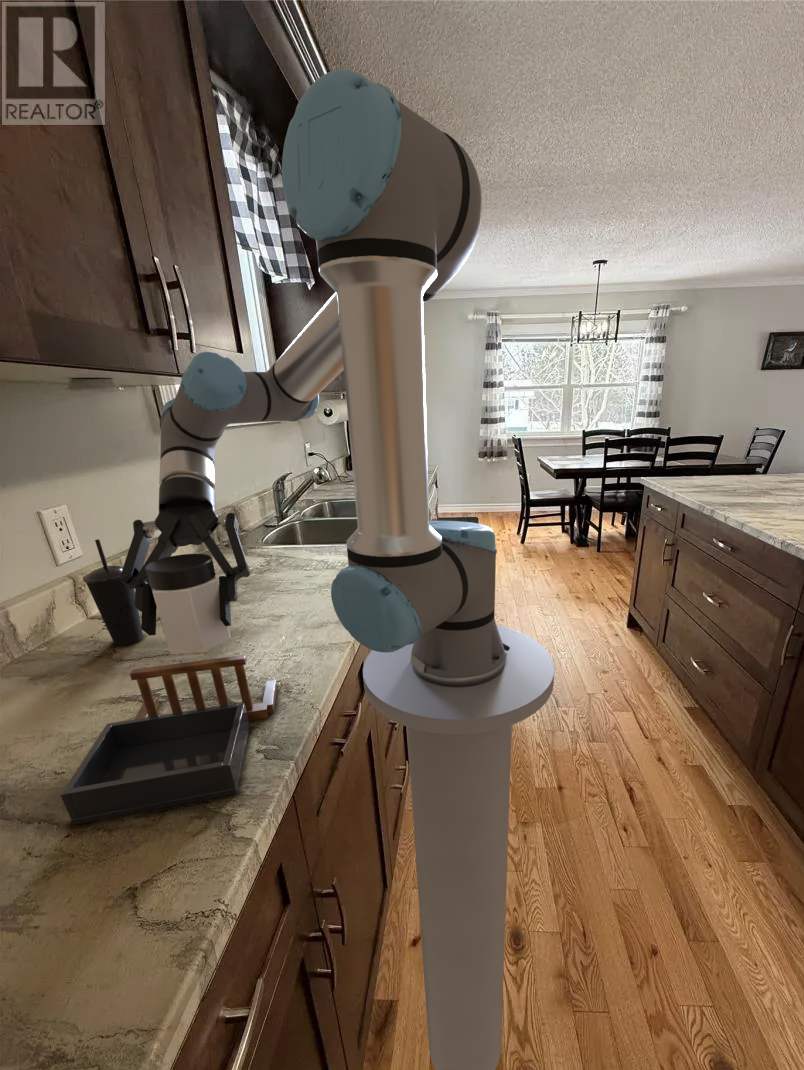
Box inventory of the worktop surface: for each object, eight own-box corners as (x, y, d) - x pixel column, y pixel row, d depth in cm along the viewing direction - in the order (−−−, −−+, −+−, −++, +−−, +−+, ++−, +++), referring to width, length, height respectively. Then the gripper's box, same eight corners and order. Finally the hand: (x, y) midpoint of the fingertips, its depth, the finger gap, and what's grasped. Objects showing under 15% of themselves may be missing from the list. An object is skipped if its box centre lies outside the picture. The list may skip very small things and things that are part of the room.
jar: (206, 624, 75) (187, 550, 70) (244, 633, 71) (227, 555, 67) (151, 649, 67) (127, 568, 63) (191, 661, 64) (168, 576, 59)
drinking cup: (95, 645, 91) (60, 543, 83) (133, 628, 98) (104, 532, 90) (123, 652, 88) (88, 547, 81) (160, 634, 95) (132, 536, 87)
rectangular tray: (250, 727, 67) (244, 702, 65) (237, 793, 56) (229, 764, 54) (116, 750, 63) (106, 723, 62) (73, 825, 52) (60, 795, 50)
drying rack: (277, 687, 76) (266, 632, 72) (273, 717, 69) (261, 657, 65) (148, 707, 72) (130, 649, 68) (129, 740, 65) (108, 678, 61)
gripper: (267, 498, 79) (276, 626, 71) (120, 509, 74) (111, 647, 66) (257, 469, 72) (266, 606, 64) (95, 478, 67) (82, 628, 59)
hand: (187, 627), depth 65 cm, fingers closed on jar, 9 cm apart
